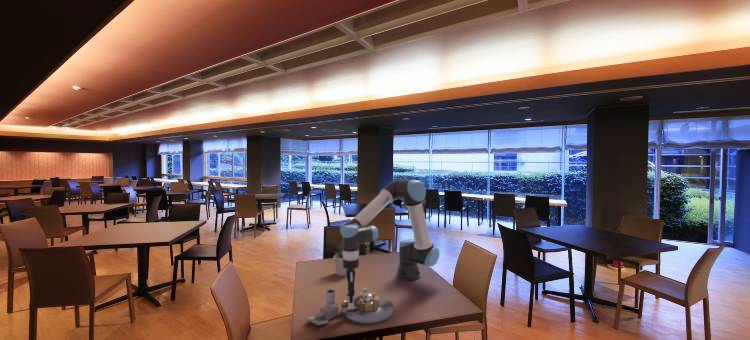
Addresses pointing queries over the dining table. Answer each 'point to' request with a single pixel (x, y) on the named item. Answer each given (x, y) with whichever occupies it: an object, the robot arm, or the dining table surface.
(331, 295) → the camera
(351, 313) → the cap plate
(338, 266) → the potted plant
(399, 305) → the dining table surface
